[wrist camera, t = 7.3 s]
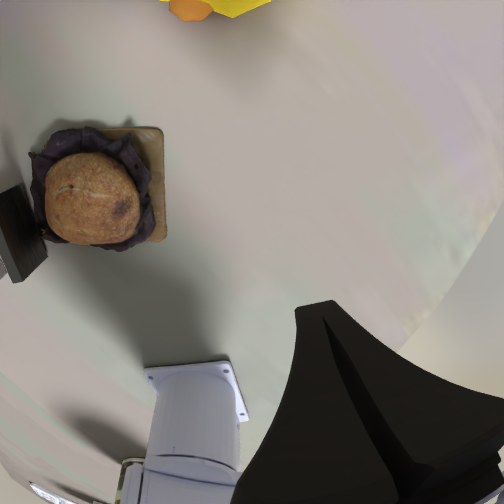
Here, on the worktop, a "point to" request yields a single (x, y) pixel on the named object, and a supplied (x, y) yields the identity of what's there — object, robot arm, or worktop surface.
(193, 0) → the yellow banana
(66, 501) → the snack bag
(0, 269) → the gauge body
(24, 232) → the grey angular piece
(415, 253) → the worktop surface
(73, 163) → the bread roll
